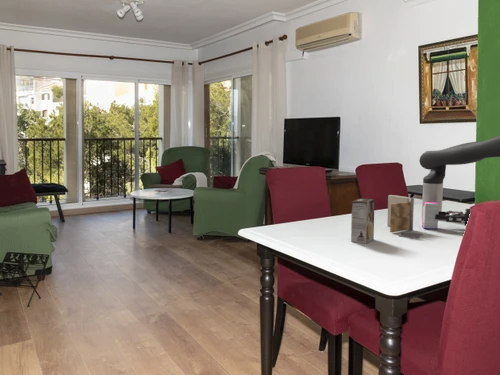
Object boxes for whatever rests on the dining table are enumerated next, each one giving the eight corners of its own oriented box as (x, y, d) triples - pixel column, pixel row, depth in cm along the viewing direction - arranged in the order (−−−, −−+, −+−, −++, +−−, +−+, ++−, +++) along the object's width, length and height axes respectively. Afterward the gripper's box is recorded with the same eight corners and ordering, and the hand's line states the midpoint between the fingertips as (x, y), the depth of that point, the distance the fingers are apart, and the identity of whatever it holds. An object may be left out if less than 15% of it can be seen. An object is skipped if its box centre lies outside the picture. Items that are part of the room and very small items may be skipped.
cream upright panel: (390, 225, 208) (391, 195, 206) (413, 230, 197) (414, 198, 196) (387, 225, 207) (388, 195, 205) (410, 230, 196) (411, 198, 195)
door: (407, 229, 197) (408, 201, 196) (411, 230, 195) (412, 202, 194) (390, 232, 191) (390, 203, 190) (394, 233, 189) (395, 204, 188)
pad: (401, 232, 192) (401, 232, 192) (422, 234, 189) (422, 233, 189) (398, 236, 185) (398, 235, 185) (419, 238, 182) (419, 237, 182)
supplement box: (438, 229, 198) (439, 203, 197) (423, 229, 199) (424, 203, 198) (435, 227, 204) (436, 201, 202) (421, 226, 205) (422, 201, 204)
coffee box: (358, 237, 184) (359, 198, 182) (374, 239, 180) (375, 199, 179) (350, 242, 176) (351, 200, 174) (366, 244, 173) (367, 202, 171)
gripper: (477, 207, 198) (437, 204, 206) (477, 212, 186) (434, 209, 193) (476, 223, 199) (437, 220, 206) (476, 230, 187) (434, 226, 194)
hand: (436, 215), depth 200 cm, fingers open, 8 cm apart
